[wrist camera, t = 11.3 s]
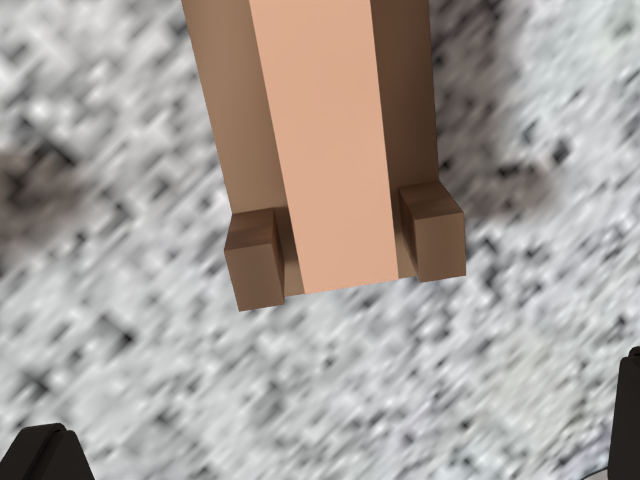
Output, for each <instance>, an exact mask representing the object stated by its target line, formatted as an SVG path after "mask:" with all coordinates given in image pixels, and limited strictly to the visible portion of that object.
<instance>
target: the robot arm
mask: <svg viewBox="0 0 640 480" xmlns="http://www.w3.org/2000/svg"><path fill="white" fill-rule="evenodd" d="M0 480H95V479H94V476H93V474H92V472H91V469H90V467H89V464H88V462H87V459H86V457H85V455H84V452H83V450H82V447H81V445H80V443H79V440H78V438H77V435H76V434H75V432H74V431H72V430H66V428H65V426H64V425H62V424H61V423H53V424H46V425H38V426H31V427H25V428H24V429H22V430H21V431H20V432H19V433H18V435H17V436H16V438H15V440H14V441H13V443H12V444H11V446H10V448H9V449H8V451H7V452H6V454H5V456H4V457H3V459H2V460H1V462H0ZM584 480H640V346H637V347H634V348H632V349H631V350H630V352H629V355H628V357H624V358H622V360H621V362H620V367H619V375H618V384H617V393H616V401H615V410H614V418H613V427H612V435H611V444H610V452H609V461H608V469H606V470H603V471H601V472H599V473H596V474H594V475H592V476H589V477H587V478H585V479H584Z"/></svg>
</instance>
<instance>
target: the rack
mask: <svg viewBox="0 0 640 480" xmlns="http://www.w3.org/2000/svg"><path fill="white" fill-rule="evenodd" d="M181 1H182V6H183V10H184V14H185V18H186V22H187V26H188V31H189V35H190V39H191V43H192V47H193V52H194V56H195V60H196V64H197V68H198V72H199V77H200V81H201V85H202V89H203V93H204V97H205V102H206V106H207V110H208V114H209V118H210V123H211V127H212V131H213V135H214V139H215V143H216V148H217V152H218V156H219V160H220V164H221V168H222V173H223V177H224V181H225V185H226V189H227V194H228V198H229V202H230V206H231V210H232V218H231V222H230V226H229V231H228V235H227V239H226V243H225V248H224V254H225V258H226V262H227V266H228V270H229V273H230V277H231V281H232V285H233V289H234V293H235V297H236V301H237V305H238V309H239V312H240V311H246V310H252V309H258V308H265V307H271V306H277V305H284V297H287V296H293V295H299V294H305V291H304V286H303V280H302V275H301V270H300V265H299V259H298V254H297V249H296V244H295V238H294V233H293V228H292V223H291V217H290V212H289V207H288V202H287V196H286V191H285V186H284V181H283V175H282V170H281V165H280V160H279V154H278V149H277V144H276V139H275V134H274V128H273V123H272V118H271V113H270V107H269V102H268V97H267V92H266V86H265V81H264V76H263V71H262V65H261V60H260V55H259V50H258V44H257V39H256V34H255V29H254V23H253V18H252V13H251V8H250V2H249V0H181ZM370 6H371V15H372V25H373V35H374V44H375V54H376V64H377V73H378V83H379V93H380V102H381V112H382V122H383V131H384V141H385V151H386V160H387V170H388V180H389V189H390V199H391V209H392V219H393V228H394V238H395V248H396V257H397V267H398V277H399V279H400V278H406V277H412V276H418V278H419V280H420V283H422V282H428V281H434V280H441V279H447V278H453V277H459V276H466V259H465V235H464V212H463V211H462V210H461V208H460V207H459V206H458V204H457V203H456V202H455V200H454V199H453V198H452V197H451V195H450V194H449V193H448V191H447V190H446V189H445V187H444V186H443V185H442V183H441V182H440V181H439V169H438V153H437V136H436V120H435V103H434V87H433V70H432V54H431V37H430V21H429V4H428V0H370Z"/></svg>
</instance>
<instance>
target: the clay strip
mask: <svg viewBox="0 0 640 480" xmlns="http://www.w3.org/2000/svg"><path fill="white" fill-rule="evenodd" d="M249 2H250V8H251V13H252V18H253V23H254V29H255V34H256V39H257V44H258V50H259V55H260V60H261V65H262V71H263V76H264V81H265V86H266V92H267V97H268V102H269V107H270V113H271V118H272V123H273V128H274V134H275V139H276V144H277V149H278V154H279V160H280V165H281V170H282V175H283V181H284V186H285V191H286V196H287V202H288V207H289V212H290V217H291V223H292V228H293V233H294V238H295V244H296V249H297V254H298V259H299V265H300V270H301V275H302V280H303V286H304V291H305V294H310V293H316V292H323V291H329V290H335V289H341V288H348V287H354V286H360V285H366V284H373V283H379V282H385V281H391V280H398V279H399V277H398V267H397V257H396V248H395V238H394V228H393V219H392V209H391V199H390V189H389V180H388V170H387V160H386V151H385V141H384V131H383V122H382V112H381V102H380V93H379V83H378V73H377V64H376V54H375V44H374V35H373V25H372V15H371V6H370V0H249Z"/></svg>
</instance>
